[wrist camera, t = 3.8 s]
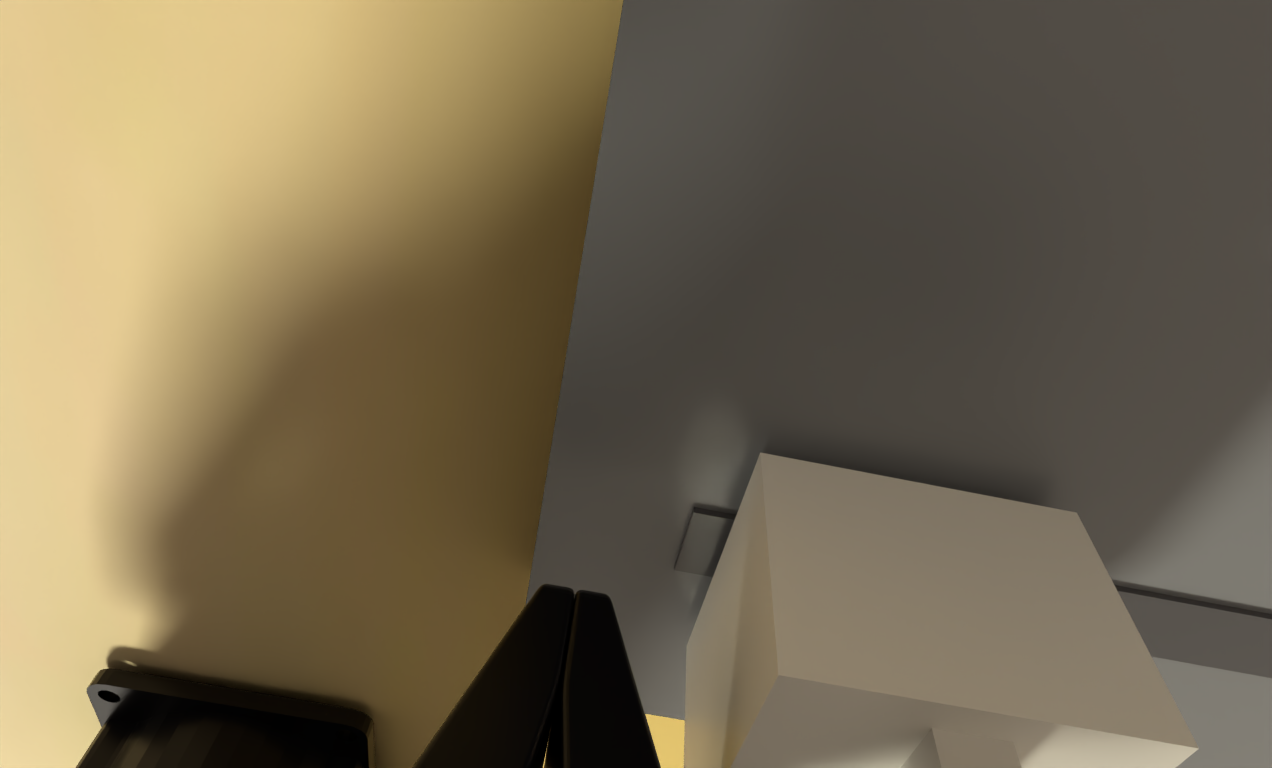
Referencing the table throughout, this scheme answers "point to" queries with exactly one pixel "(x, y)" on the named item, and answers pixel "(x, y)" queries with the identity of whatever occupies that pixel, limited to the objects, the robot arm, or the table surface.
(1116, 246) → the switch panel
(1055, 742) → the tab
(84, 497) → the table surface
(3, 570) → the table surface
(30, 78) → the table surface
